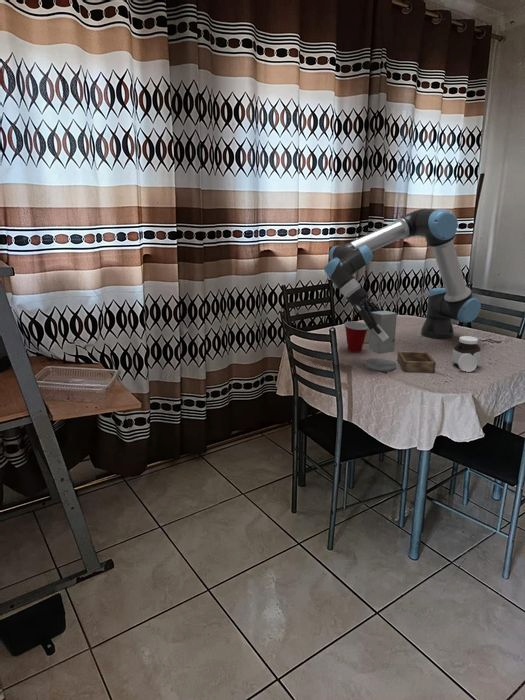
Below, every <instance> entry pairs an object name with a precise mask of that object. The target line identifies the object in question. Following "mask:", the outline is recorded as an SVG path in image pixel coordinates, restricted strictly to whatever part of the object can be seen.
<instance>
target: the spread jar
mask: <svg viewBox="0 0 525 700" xmlns="http://www.w3.org/2000/svg"><path fill="white" fill-rule="evenodd" d="M478 340H479V339H478V338H477V337H474V336H471V335H469V336H468V335H463V336H460V337H459V340H458V342H457V343H456V344H455V345H454V346H453V351H452V358H451V361H452V363H453V364H454V365H455V366H456V367H457V366H458V367H457V368H459V369H460V370H461V371H463V372H465V371H466V372H467V373H469V372H473V371H475V369H476V368H477V366H478V365H479V363H480V360H481V354H482V349H481V346H480V345H479V344H478V343H479V341H478ZM466 372H465V373H466Z"/></svg>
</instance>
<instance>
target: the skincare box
mask: <svg viewBox="0 0 525 700" xmlns="http://www.w3.org/2000/svg"><path fill="white" fill-rule="evenodd" d="M371 314H372V316H373V318H374V320H375V322H376V324H377V325H379V326H380V327H381V328H382V329H383V331H384V332H385V333H386V334H387V335H388V337H389V338H388V339H386V340H385V341H384V342H383V341H382V340H381V339H380V337H379V336H378V335H377V334H376V333H375V331H374V330H373V328H372V329H371V330H370V338H369V343H368V350H369V351H370V352H373V353H376V354H378V355H382V354H387V353H391V352H393V353H394V352H395V344H396V343H395V342H396V333H397V330H396V328H397V315H398V314H397V312H394V311H391V310H390V311H389V310H382V311H377V312H371Z"/></svg>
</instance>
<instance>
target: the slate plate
mask: <svg viewBox="0 0 525 700" xmlns="http://www.w3.org/2000/svg"><path fill="white" fill-rule="evenodd" d="M365 367H366V368H367V369H369V370H371V371H376V372H391V371H395V370H396V368H397V363H396V362H394V361H392V359H391V360H390V359H385V358H371V359H368V360H366V361H365ZM394 369H395V370H394Z"/></svg>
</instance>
